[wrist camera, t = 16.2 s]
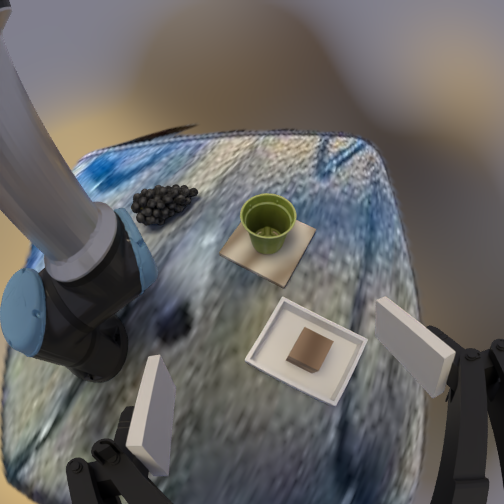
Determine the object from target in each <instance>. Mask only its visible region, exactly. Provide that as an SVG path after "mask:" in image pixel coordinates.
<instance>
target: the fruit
mask: <svg viewBox="0 0 504 504" xmlns="http://www.w3.org/2000/svg"><path fill="white" fill-rule="evenodd" d="M197 194H198V190H197V189H196V188H192V189H188V187H187V186H186V185H183V186H181V187H179V185H177V184H175V185H173V186H172V187H170V186H166V187H162V186H160V185H157V186H155V188H154V189H148V190H147V189H143V190H142V191H141V193H140V194H139V193H137V194H135V195H134V196H133V204H132V206H131V209H132V211H133V212H134V213H138V214H137V216H136V219H137V221H138V222H139V223H143V224H144V225H146V226H147V225H150V224H156V223H157V224H159V225H163V224H164V221H165V220H164V219H165V218H168V217H169V216H172V215H174V213H175V211H177V212H181V211H182V210H183V208H184V207H185V206H186V205H188V204H190V203H191V197H194V196H196V195H197Z"/></svg>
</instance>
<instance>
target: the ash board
mask: <svg viewBox="0 0 504 504" xmlns="http://www.w3.org/2000/svg"><path fill="white" fill-rule="evenodd" d="M315 231H316V229H314V228H312V227H310V226H308V225H306V224H304V223H301V222H299V221H297V220H296V222H295V225H294V227H293V228H292V229H291V230H290V231H289V232H288V233H287V236H286V238H285V241H284V243H283V245H282V247H281V249H280V250H279V251H277V252H276V253H273V254H262V253H260V252H258V251H257V250H256V249H255V248H254V247H253V245H252V242H251V239H250V236H249V233H248V231H247V230H246V229H245V228H244V227H243V225H242V223H240V224H239V226H238V227H237V228H236V230H235V231H234V233H233V234H232V235H231V237H230V238H229V239H228V241H227V242H226V244H225V245H224V246H223V248H222V249H221V251H220V252H219V255H220V256H222V257H224V258H226V259H228V260H230V261H231V262H233V263H235V264H237V265H239V266H241V267H243V268H245V269H247V270H249V271H251V272H253V273H254V274H256V275H258V276H260V277H262V278H264V279H266V280H268V281H270V282H272V283H274V284H276V285H278V286H280V287H282V288H284V287H285V286H286V284H287V282H288V280H289V279H290V277H291V275H292V273H293V272H294V270H295V268H296V266H297V264H298V263H299V261H300V259H301V257H302V255H303V254H304V252H305V250H306V248H307V246H308V244H309V243H310V241H311V239H312V237H313V235H314V233H315ZM260 233H261V232H258V233H257V235H258V234H260ZM273 233H275V234H276V235H277V236H278V234H277V233H276V232H275V231H273Z"/></svg>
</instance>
